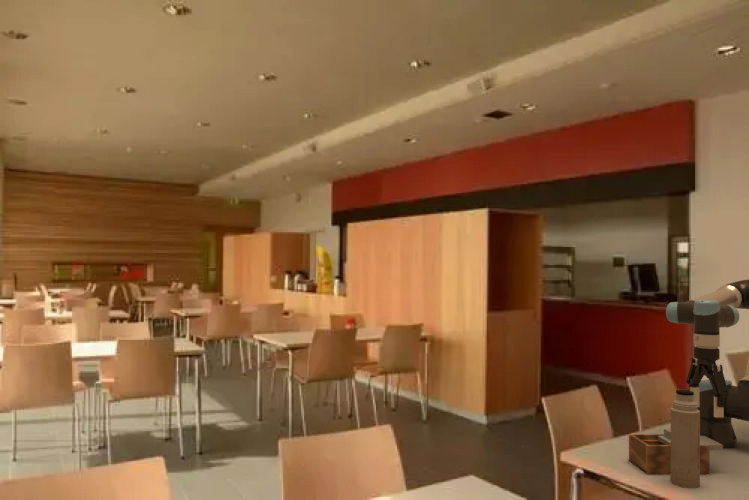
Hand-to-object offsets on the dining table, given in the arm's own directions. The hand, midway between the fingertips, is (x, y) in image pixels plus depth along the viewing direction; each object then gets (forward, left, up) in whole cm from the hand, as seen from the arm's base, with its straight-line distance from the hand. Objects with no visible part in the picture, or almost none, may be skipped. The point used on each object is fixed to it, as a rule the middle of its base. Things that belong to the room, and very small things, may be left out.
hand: (706, 411), depth 200 cm
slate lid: (+6, 0, -11) cm, 12 cm away
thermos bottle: (+15, +14, -18) cm, 27 cm away
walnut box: (+13, 0, -18) cm, 22 cm away
